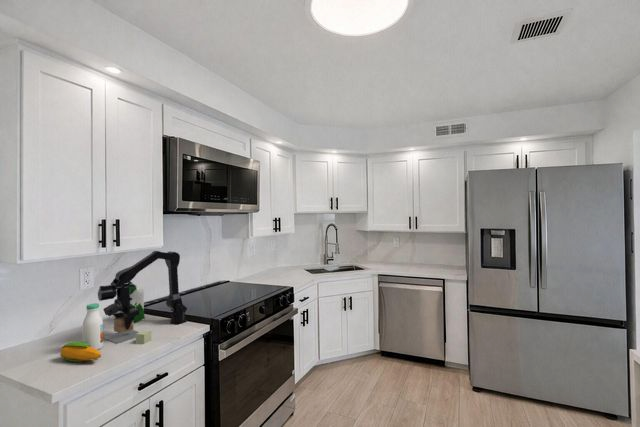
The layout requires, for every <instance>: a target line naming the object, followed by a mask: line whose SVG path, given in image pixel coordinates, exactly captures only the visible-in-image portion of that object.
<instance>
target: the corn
mask: <svg viewBox="0 0 640 427" xmlns="http://www.w3.org/2000/svg"><path fill="white" fill-rule="evenodd" d="M59 353H60V356H61V358H63V359H64V360H67V361H69V362H75V363H76V362H77V363H83V361H91V360H95V359H100V358H101V357H102V353H101V351H100V350H96V349H95V348H93V347H90V345H89V344H87V343H84V342H82V341H70V342H67V343H66V344H64V345H63V346H61V349H60V351H59Z"/></svg>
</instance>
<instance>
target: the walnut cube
mask: <svg viewBox="0 0 640 427" xmlns="http://www.w3.org/2000/svg"><path fill="white" fill-rule="evenodd" d="M130 330H134V322H133V321H132V323H131V325H130V327H129V329H126V326H125V319H123V318H122V317H119V318H114V319H113V331H114V332H116V333H123V332H127V331H130Z"/></svg>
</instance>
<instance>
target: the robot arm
mask: <svg viewBox="0 0 640 427" xmlns="http://www.w3.org/2000/svg"><path fill="white" fill-rule="evenodd" d="M180 259H181V255H180V253H179V252H177V251H167V252H163V251H160V250H153V251H152V252H151V253H149V254H148V255H147V256H145V257H143V258H142V259H140V260H139V261H137V262H136V263H134V264H133V265H132V266H129V267H126V268H123V269H122V270H119V271H117V272H116V273H115V275H114V276H115V277H114V278H113V280H112V281H111V283H110V284H109V285H108V284H107V285H100V286H99V287H98V288H99V289H98V292H97V298H98V301H99V302H102V301H107V300H112V299H114V302H113V303H111V304H109V305H107V306H106V307H105V308H103V312H104V314H105V316H108V317H111V316H113V317H114V319H116V318H119V317H122V318H123V319H125V326H126V329H129V327H130V325H131V323H132V321H133V320H134V318H135V316H137V315H140V310H139V309H136V308H133V309H131V308H132V306H130V300H132V298H130V287H133V286H136V284H134V283H133V282H132V280H133V279H134V278H135V277H136V276H137V274H139V273H140V272H141V271H143V269H146V268H147V267H148V266H150V265H151V264H153V263H154V262H156V261H158V260H164V262H165V264H166V267H167V270H168V288H169V294H168V296H166V297H165V305H166V306H167V308H168V309H170V312H171V316H170V321H169V323H170V324H172V325H173V324H174V325H180V324H183V323H186V322H188V320H187V319H186V312H187V310H188V308H187V306H186V305H184V303H183V299H182V297H181V295H180V291H179V274H178V270H179V269H178V267H179V264H180Z"/></svg>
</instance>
